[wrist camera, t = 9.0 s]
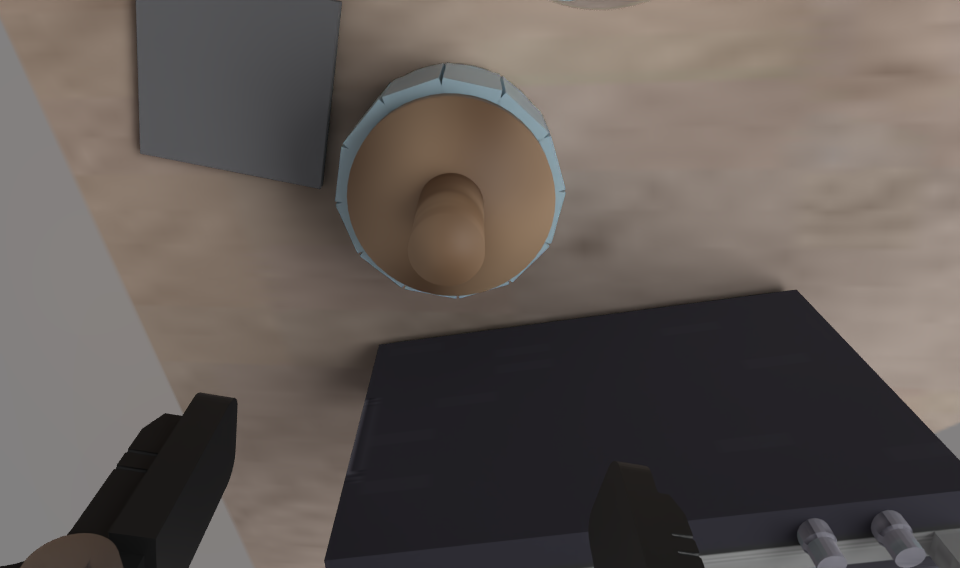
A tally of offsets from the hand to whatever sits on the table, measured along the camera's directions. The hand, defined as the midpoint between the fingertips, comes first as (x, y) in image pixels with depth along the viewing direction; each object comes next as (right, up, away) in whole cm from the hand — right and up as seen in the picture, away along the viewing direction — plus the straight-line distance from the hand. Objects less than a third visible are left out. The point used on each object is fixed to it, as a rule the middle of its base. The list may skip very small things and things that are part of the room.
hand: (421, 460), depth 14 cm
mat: (-10, +14, +18) cm, 24 cm away
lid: (0, +8, +15) cm, 17 cm away
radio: (+8, 0, +25) cm, 26 cm away
